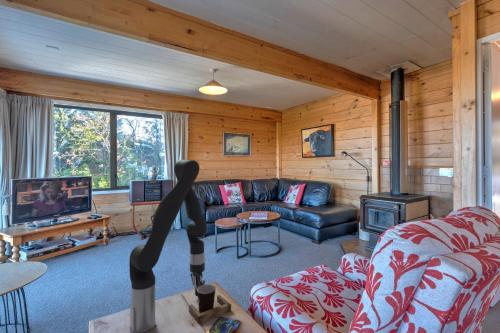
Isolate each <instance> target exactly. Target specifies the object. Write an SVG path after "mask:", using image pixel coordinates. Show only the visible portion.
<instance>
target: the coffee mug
mask: <svg viewBox="0 0 500 333" xmlns="http://www.w3.org/2000/svg"><path fill="white" fill-rule="evenodd" d="M216 288H217V287H216V286H214V285H213V284H204V285H202V286H200V287H198V288H197V296H196V297H197V304H198V311H199V312H200V313H202V312H205V311H207V310H210V309H213V308H215V307H214V306H215V297H216Z"/></svg>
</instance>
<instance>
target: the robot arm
mask: <svg viewBox="0 0 500 333" xmlns="http://www.w3.org/2000/svg"><path fill="white" fill-rule="evenodd" d="M173 171H174V176H175V178H176V181H177V182H176V183H175V185H174V186H173V188H171V190H170V191H168V192H167V193H166V194H165V195H164V196H163V197H162V199H160V202H159V203H158V206H157V208H156V210H155V211H154V215H153V219H152V226H151V232H150V234H149V237H148V239H147V240H146V243H145V244H138V245H136V246H135V247H134V248H133V249H132V250H131V252H130V253H129V254H130V255H129V259H128V260H129V263H128V264H129V266H128V267H129V279H130V284H131V287H130V288H131V289H130V290H131V294H130V295H131V300H130V302H131V303H130V304H129V305H130V306H129V308H130V310H129V312H130V313H129V315H130V316H129V318H130V319H129V325H130V329H131V333H146V332H148V331H151V330H152V329H153V328H154V327H155V326H156V275H155V274H154V270H153V268H155V266H156V265H157V264H158V262H159V260H160V256H161V254H162V251H163V247H164V245H165V242H166V240H167V237H168V235H169V234H170V232H171V229H172V226H173V224H174V222H175V220H176V218H177V216H178V214H179V212H180V210H181V207H182V205H183V203H184V205H185V207H184V208H185V210H186V217H187V218H188V220H190V222H188V224H187V226H186V236H187V239H188V243H189V249H190V250H189V272H190V279H191V282H192V286H194V287H193V288H194V295H195V297H198V296H197V288H198V287H200V286H202V285H205V282H206V281H205V280H203V277H204V276H203V272H204V271H205V269H206V257H205V242H204V240H202V239H200V237H201V238H202V237H204V236H206V235H207V232H208V224H207V221H206V219H205V218H204V215H203V213H202V208H201V204H200V200H199V197H198V196H197V194H196V192H195V190H194V188H193V186H192V185H193V184H194V182H195V181H196V180H197V177H198V176H199V173H200V165H199V162H198V161H196V160H193V159H179V160H177V161H176V162H175V163H174V166H173Z"/></svg>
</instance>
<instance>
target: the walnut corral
mask: <svg viewBox="0 0 500 333" xmlns="http://www.w3.org/2000/svg"><path fill="white" fill-rule="evenodd" d="M216 302H217V303H218V304H219V306H216V307H213V309H210V310H207V311H205V312H202V313H200V312H199V309H198V308H196V307H195V305H193V304H192V303H191V304H189V305H188V312H189V314H190V315H191V316H192V317H193V318H194V319H195V321H196V322H197V323H198V324H202V323H204V322H207V321H209V320H212V319H215V318H217V317H219V316H220V317H221V316H222V315H225V314H227V313H229V312H232V304H231V303H230V302H228V300H226V299H225V297H223V296H222V295H221V294H217V295H216Z"/></svg>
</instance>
